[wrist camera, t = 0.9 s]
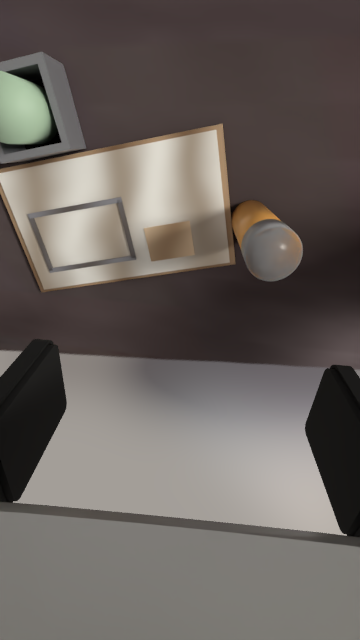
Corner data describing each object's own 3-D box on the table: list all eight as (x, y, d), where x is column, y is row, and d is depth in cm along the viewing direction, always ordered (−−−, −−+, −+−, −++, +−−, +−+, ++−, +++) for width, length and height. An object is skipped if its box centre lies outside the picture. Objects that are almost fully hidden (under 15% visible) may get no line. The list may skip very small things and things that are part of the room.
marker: (268, 196, 26) (303, 221, 17) (270, 235, 28) (302, 277, 19) (228, 203, 27) (242, 231, 18) (232, 241, 28) (247, 284, 19)
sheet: (222, 124, 24) (222, 123, 23) (234, 262, 29) (235, 265, 28) (-6, 170, 26) (-12, 171, 26) (43, 290, 31) (39, 293, 31)
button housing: (63, 64, 23) (41, 51, 20) (86, 148, 25) (70, 149, 22) (-5, 81, 23) (-36, 71, 20) (24, 161, 26) (0, 163, 23)
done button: (48, 76, 22) (19, 63, 18) (66, 138, 24) (43, 137, 20) (-2, 88, 22) (-40, 77, 19) (20, 148, 24) (-11, 149, 21)
